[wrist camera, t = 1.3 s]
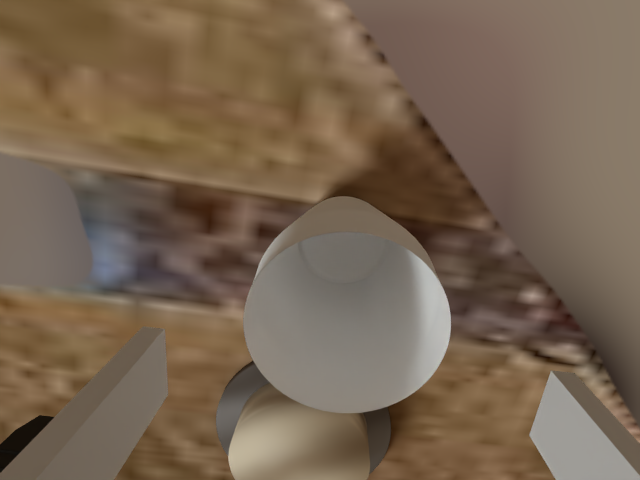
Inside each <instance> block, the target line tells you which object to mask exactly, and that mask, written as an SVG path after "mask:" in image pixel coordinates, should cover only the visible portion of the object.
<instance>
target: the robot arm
mask: <svg viewBox="0 0 640 480" xmlns="http://www.w3.org/2000/svg"><path fill="white" fill-rule="evenodd" d="M167 395H168V383H167V363H166V343H165V329H161V328H152V327H142V328H141V329H140V330H139V331H138V332H137V333H136V334H135V335H134V336H133V337H132V338H131V339H130V340H129V341H128V342H127V343H126V344H125V345H124V346H123V347H122V349H121V350H120V351H119V352H118V353H117V354H116V355H115V356H114V357H113V358H112V359H111V360H110V361H109V362H108V363H107V364H106V365H105V366H104V367H103V368H102V369H101V370H100V371H99V372H98V373H97V374H96V375H95V376H94V377H93V378H92V379H91V380H90V381H89V382H88V383H87V384H86V386H85V387H84V388H83V389H82V390H81V391H80V392H79V393H78V394H77V395H76V396H75V397H74V398H73V399H72V400H71V401H70V402H69V403H68V404H67V405H66V406H65V407H64V408H63V409H62V410H61V411H60V412H59V413H58V414H57V415H56V416H55V417H50V416H41V415H40V416H38V417H36V418H35V419H33V420H31V421H30V422H28V423H26V424H25V425H23V426H22V427H20V428H18V429H17V430H15V431H14V432H13V433H12V434H11V435H10V436H9V437H8V438H7V439H6V440H5V441H4V442H2V443H1V444H0V480H114V478H115V477H116V475H117V474H118V472H119V471H120V469H121V467H122V466H123V464H124V463H125V461H126V460H127V458H128V457H129V455H130V453H131V452H132V450H133V449H134V447H135V446H136V444H137V442H138V441H139V439H140V438H141V436H142V435H143V433H144V431H145V430H146V428H147V427H148V425H149V424H150V422H151V420H152V419H153V417H154V416H155V414H156V413H157V411H158V409H159V408H160V406H161V405H162V403H163V402H164V400H165V398H166V397H167ZM530 437H531V439H532V440H533V442H534V444H535V445H536V447H537V449H538V450H539V452H540V454H541V455H542V457H543V459H544V460H545V462H546V464H547V465H548V467H549V469H550V470H551V472H552V474H553V475H554V477H555V479H556V480H640V443H639V442H638V441H637V440H636V439H635V438H634V437H633V436H632V435H631V434H630V433H629V432H628V430H627V429H626V428H625V427H624V426H623V425H622V424H621V423H620V422H619V421H618V420H617V419H616V418H615V416H614V415H613V414H612V413H611V412H610V411H609V410H608V409H607V408H606V407H605V406H604V405H603V403H602V402H601V401H600V400H599V399H598V398H597V397H596V396H595V395H594V394H593V393H592V392H591V391H590V389H589V388H588V387H587V386H586V385H585V384H584V383H583V382H582V381H581V380H580V379H579V378H578V377H577V375H576V374H575V373H568V372H559V371H551V373H550V376H549V379H548V381H547V384H546V387H545V390H544V393H543V396H542V399H541V402H540V405H539V408H538V411H537V414H536V417H535V420H534V423H533V426H532V429H531V432H530Z"/></svg>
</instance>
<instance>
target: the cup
mask: <svg viewBox="0 0 640 480" xmlns="http://www.w3.org/2000/svg"><path fill="white" fill-rule="evenodd" d="M243 327H244V335H245V340H246V344H247V347H248V350H249V353H250V355H251V357H252V359H253V361H254V363H255V364H256V366H257V368H258V369H259V370H260V372H261V373H262V374H263V376H264V377H265V378H266V379H267V380H268V381H269V382H270V383H271V384H272V385H273V386H274V387H275V388H276V389H278V390H279V391H280V392H282V393H283V394H285V395H286V396H288V397H289V398H291V399H293V400H295V401H297V402H299V403H301V404H303V405H306V406H309V407H312V408H315V409H318V410H322V411H328V412H334V413H362V412H369V411H374V410H378V409H381V408H384V407H387V406H390V405H392V404H395V403H397V402H399V401H401V400H403V399H405V398H406V397H408V396H410V395H411V394H413V393H414V392H415V391H417V390H418V389H419V388H420V387H421V386H422V385H424V384H425V383H426V382H427V381H428V379H429V378H430V377H431V376H432V375H433V374H434V372H435V371H436V369H437V368H438V366H439V365H440V363H441V361H442V359H443V357H444V355H445V352H446V349H447V346H448V343H449V338H450V331H451V315H450V309H449V304H448V300H447V297H446V295H445V292H444V290H443V287H442V285H441V283H440V281H439V279H438V277H437V274H436V272H435V270H434V267H433V265H432V262H431V260H430V258H429V256H428V254H427V253H426V251H425V250H424V248H423V247H422V245H421V244H420V243H419V242H418V241H417V240H416V238H415V237H414V236H413V235H412V234H410V233H409V232H408V231H407V230H406V229H405V228H403V227H402V226H401V225H400V224H398V223H397V222H395V221H394V220H392V219H391V218H389V217H388V216H386V215H385V214H384V213H382V212H381V211H379V210H378V209H376V208H375V207H373V206H372V205H370V204H369V203H367V202H365V201H363V200H361V199H358V198H354V197H348V196H339V197H333V198H329V199H326V200H324V201H322V202H320V203H318V204H317V205H315V206H314V207H313V208H311V209H310V210H309V211H307V212H306V213H305V214H304V215H302V216H301V217H300V218H299V219H297V220H296V221H295V222H293V223H292V224H291V225H290V226H289V227H287V228H286V229H285V230H284V231H283V232H282V233H280V234H279V235H278V237H277V238H276V239H275V240H274V241H273V242H272V244H271V245H270V246H269V248H268V249H267V250H266V252H265V254H264V255H263V257H262V259H261V261H260V264H259V266H258V269H257V272H256V276H255V279H254V282H253V284H252V286H251V289H250V291H249V294H248V297H247V300H246V304H245V308H244V317H243Z"/></svg>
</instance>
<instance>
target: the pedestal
mask: <svg viewBox="0 0 640 480" xmlns="http://www.w3.org/2000/svg"><path fill="white" fill-rule="evenodd" d="M216 426H217V432H218V436H219V440H220V442H221V445H222V447H223V449H224V450H225V452H226V454H227V455H228V457H229V465H230V469H231V472H232V474H233V477H234V478H235V480H367V479H368V476H369V474H370V473H371V472H372V471H373V470H374V469H375V468H376V467H377V466H378V465H379V463H380V462H381V460H382V459H383V457H384V455H385V453H386V451H387V449H388V446H389V442H390V436H391V423H390V416H389V411H388V407H384V408H381V409H378V410H374V411H369V412H362V413H334V412H328V411H322V410H318V409H315V408H312V407H309V406H306V405H303V404H301V403H299V402H297V401H295V400H293V399H291V398H289V397H288V396H286V395H285V394H283V393H282V392H280V391H279V390H278V389H276V388H275V387H274V386H273V385H272V384H271V383H270V382H269V381H268V380H267V379H266V378H265V377H264V376H263V374H262V373H261V372H260V370H259V369H258V368H257V366H256V364H255V363H254V361H253V362H251V363H249V364H248V365H246V366H245V367H243V368H242V369H241V370H240V371H239V372H237V373H236V375H235V376H234V377H233V378H232V379H231V380H230V382H229V383H228V385H227V386H226V388H225V390H224V393H223V395H222V397H221V400H220V402H219V405H218V409H217V416H216Z"/></svg>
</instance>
